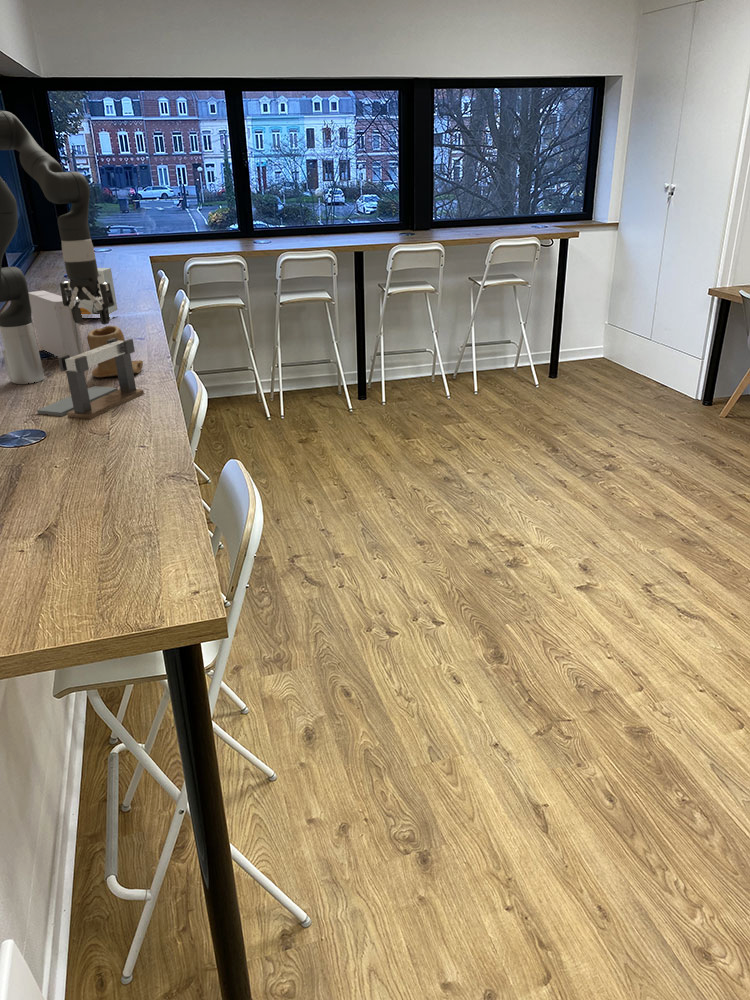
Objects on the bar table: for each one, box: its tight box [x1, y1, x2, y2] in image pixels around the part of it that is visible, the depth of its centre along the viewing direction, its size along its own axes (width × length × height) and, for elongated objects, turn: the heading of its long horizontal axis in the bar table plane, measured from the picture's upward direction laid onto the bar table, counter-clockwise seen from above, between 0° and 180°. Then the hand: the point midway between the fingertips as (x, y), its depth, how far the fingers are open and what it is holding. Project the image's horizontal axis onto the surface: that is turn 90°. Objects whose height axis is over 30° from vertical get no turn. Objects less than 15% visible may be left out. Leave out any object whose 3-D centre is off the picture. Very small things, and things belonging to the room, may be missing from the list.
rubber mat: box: [36, 385, 118, 417], centre depth 207 cm, size 8×23×1 cm, turn 160°
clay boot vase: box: [86, 325, 144, 378], centre depth 229 cm, size 15×12×15 cm
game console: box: [28, 290, 85, 358], centre depth 254 cm, size 6×27×20 cm, turn 41°
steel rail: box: [65, 341, 125, 372], centre depth 199 cm, size 3×21×3 cm, turn 160°
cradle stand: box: [57, 338, 145, 420], centre depth 201 cm, size 7×23×16 cm, turn 160°
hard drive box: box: [71, 267, 119, 314], centre depth 312 cm, size 16×8×20 cm, turn 81°
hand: (92, 323), depth 195 cm, fingers open, 8 cm apart
